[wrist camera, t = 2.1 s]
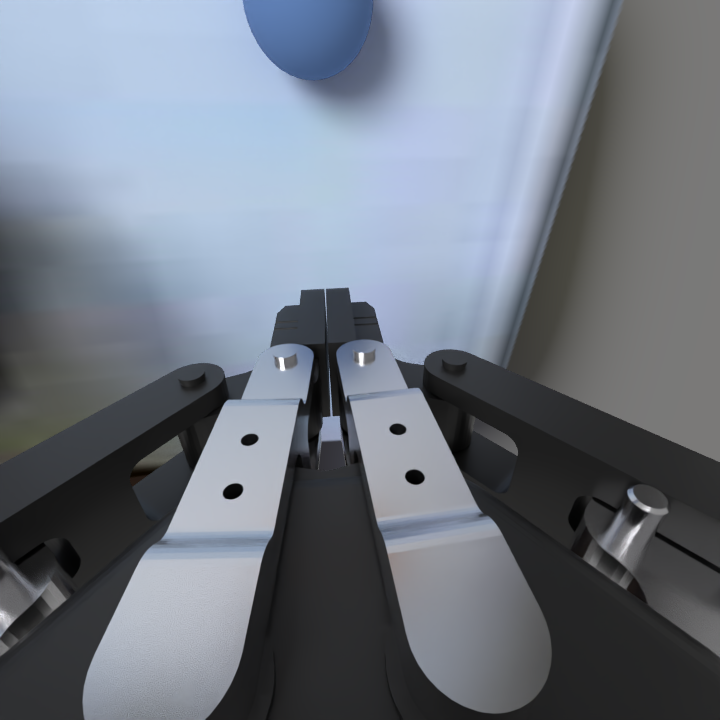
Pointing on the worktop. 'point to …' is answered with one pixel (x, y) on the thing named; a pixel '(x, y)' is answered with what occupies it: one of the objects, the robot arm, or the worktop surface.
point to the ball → (310, 33)
